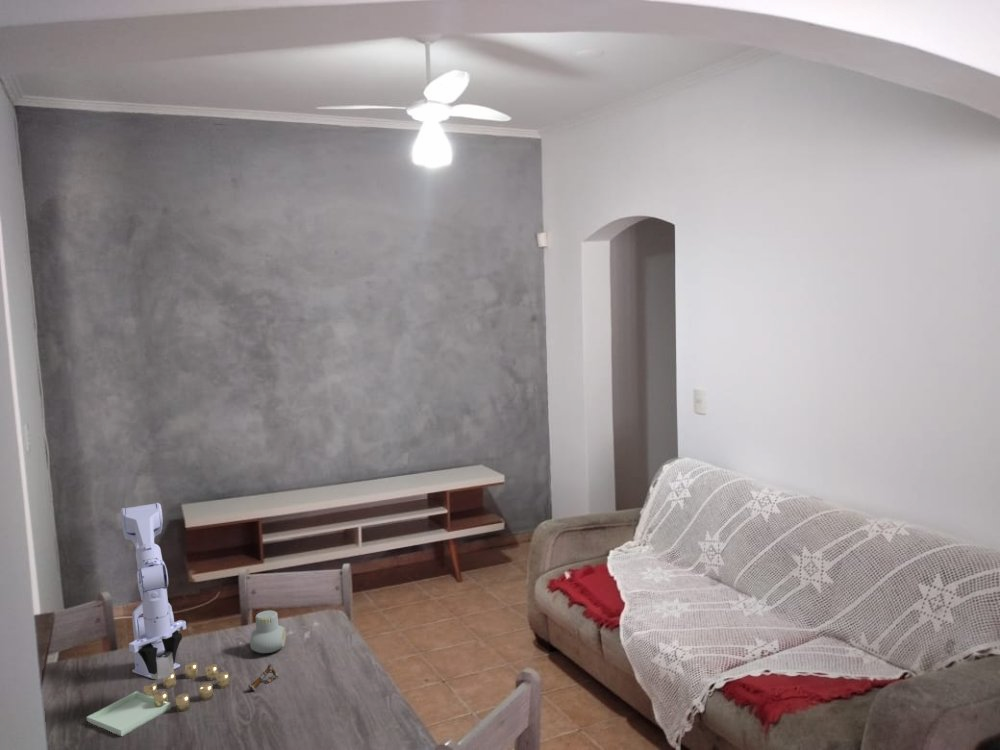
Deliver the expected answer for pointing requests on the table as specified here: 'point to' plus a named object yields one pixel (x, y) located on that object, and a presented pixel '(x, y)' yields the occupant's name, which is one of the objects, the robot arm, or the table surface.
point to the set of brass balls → (183, 699)
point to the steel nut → (164, 665)
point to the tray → (128, 713)
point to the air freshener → (267, 633)
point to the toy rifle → (262, 676)
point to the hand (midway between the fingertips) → (161, 668)
